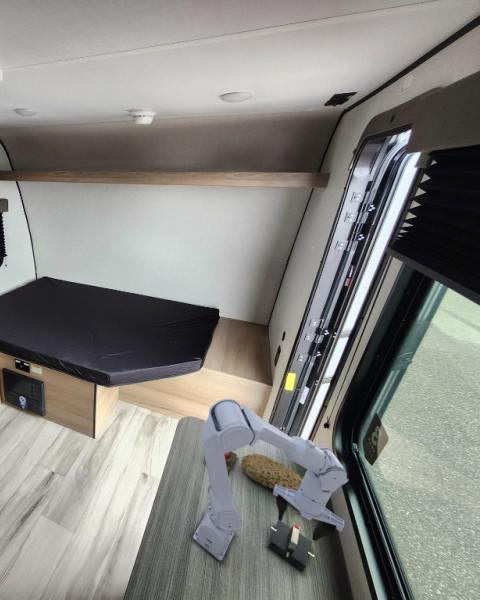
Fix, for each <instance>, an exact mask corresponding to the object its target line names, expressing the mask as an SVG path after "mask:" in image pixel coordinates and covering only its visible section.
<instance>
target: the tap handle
mask: <svg viewBox="0 0 480 600" xmlns="http://www.w3.org/2000/svg"><path fill="white" fill-rule="evenodd" d="M300 529H301V525H299V524H297V523H296V522H293V524H292V526H291V530H290V535H289V540H288V546H287V549H288V550H289V551H291V552H294V550H295V548H296V546H297V543H298V536H299V533H300Z"/></svg>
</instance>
